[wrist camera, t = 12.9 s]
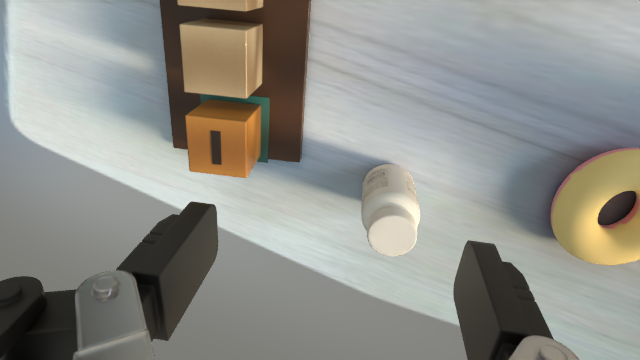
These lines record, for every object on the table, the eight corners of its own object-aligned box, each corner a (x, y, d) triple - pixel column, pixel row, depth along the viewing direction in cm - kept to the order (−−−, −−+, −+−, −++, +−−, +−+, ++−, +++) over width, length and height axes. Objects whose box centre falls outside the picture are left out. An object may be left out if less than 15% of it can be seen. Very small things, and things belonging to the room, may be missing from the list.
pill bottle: (356, 201, 36) (353, 253, 29) (370, 157, 34) (370, 202, 27) (404, 213, 36) (412, 268, 29) (420, 170, 34) (434, 219, 27)
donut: (670, 147, 33) (563, 133, 32) (728, 163, 28) (606, 147, 28) (625, 256, 36) (526, 246, 35) (670, 285, 32) (559, 274, 31)
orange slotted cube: (207, 98, 32) (184, 115, 28) (261, 104, 32) (245, 122, 28) (209, 149, 34) (188, 172, 30) (260, 155, 34) (246, 179, 30)
